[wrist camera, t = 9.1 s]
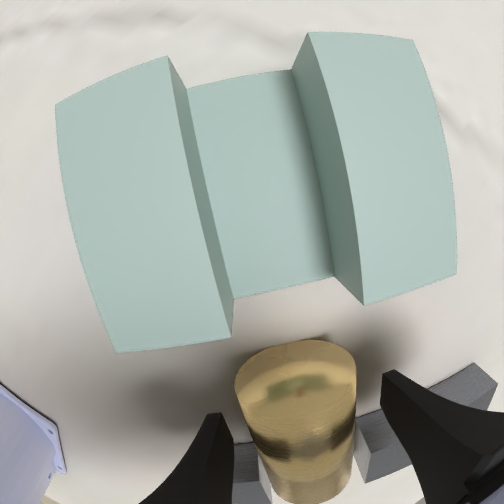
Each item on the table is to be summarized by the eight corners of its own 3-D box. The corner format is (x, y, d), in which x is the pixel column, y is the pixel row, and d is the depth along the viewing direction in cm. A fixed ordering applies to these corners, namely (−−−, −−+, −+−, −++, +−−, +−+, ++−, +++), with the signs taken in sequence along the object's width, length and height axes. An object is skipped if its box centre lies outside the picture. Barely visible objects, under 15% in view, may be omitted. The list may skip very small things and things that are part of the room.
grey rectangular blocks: (462, 402, 13) (480, 423, 10) (227, 477, 13) (226, 509, 11) (474, 362, 12) (497, 383, 10) (208, 447, 13) (204, 484, 10)
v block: (394, 246, 10) (456, 274, 6) (154, 299, 10) (116, 353, 7) (362, 80, 9) (412, 39, 5) (114, 129, 9) (54, 104, 5)
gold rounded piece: (345, 438, 13) (355, 497, 8) (272, 448, 13) (268, 507, 9) (343, 331, 11) (369, 403, 7) (242, 347, 12) (224, 421, 7)
